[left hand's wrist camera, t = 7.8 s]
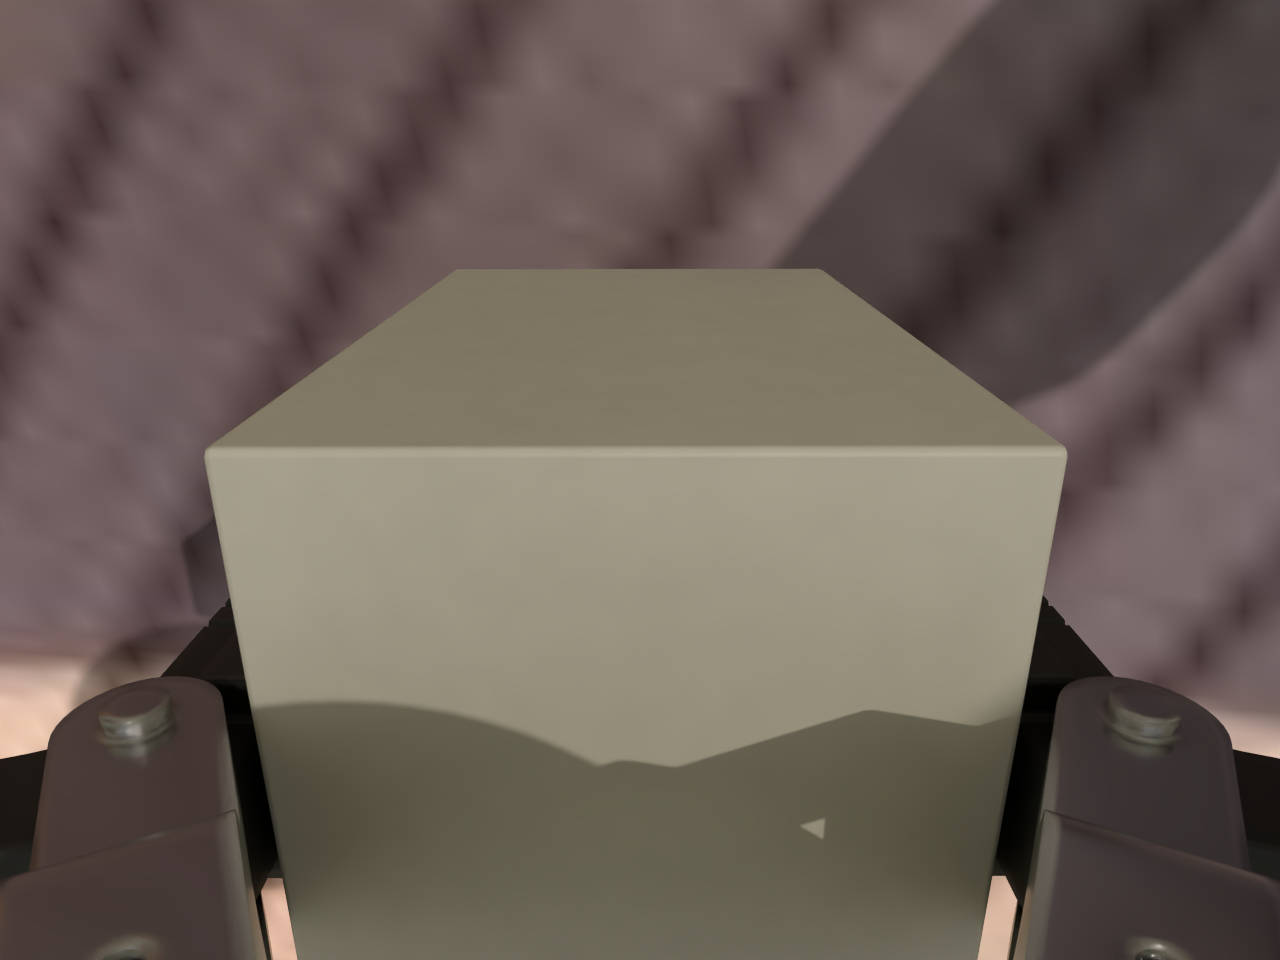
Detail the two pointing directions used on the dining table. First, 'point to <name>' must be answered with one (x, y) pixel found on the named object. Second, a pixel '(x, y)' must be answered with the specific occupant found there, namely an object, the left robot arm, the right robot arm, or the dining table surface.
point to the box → (636, 623)
